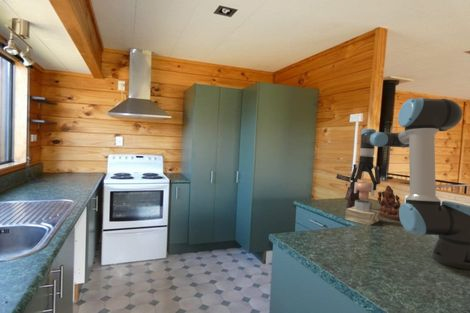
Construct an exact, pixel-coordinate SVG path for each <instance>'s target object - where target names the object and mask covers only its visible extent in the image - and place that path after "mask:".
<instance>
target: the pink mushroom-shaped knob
mask: <svg viewBox="0 0 470 313" xmlns="http://www.w3.org/2000/svg"><path fill="white" fill-rule="evenodd" d="M372 185H373V182H366V181H358V182H356V190H359V198H360V200H369V193H371V187H372Z"/></svg>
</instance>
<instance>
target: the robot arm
mask: <svg viewBox="0 0 470 313" xmlns="http://www.w3.org/2000/svg"><path fill="white" fill-rule="evenodd" d="M462 118H463V109H462V108H461V106H460V105H459V104H458V103H457V102H455V101H454V100H452V99H448V98H446V99H445V98H441V99H440V98H423V97H418V98H409V99H407V100H405V101H404V103H403V104H402V105H401V107H400V109H399V112H398V116H397V122H398V125H399V126H400V127H402V128H404V130H402V131H400V132H382V131H376V129H373V128H363V129H362V130H361V134H360V149H359V157H358V158H359V159H358V162H359V163H358V164H356V163H355V164H353V166H352V167H353V169H352V172H351V175H350V177H351V178H350V181H351V182H352V181H353V187H354V193H357V190H356V181H359V179H358V178H359V177H360V175H361V173H362V174H363V172H364V173H367V174H368V175H369V177H370V179H371V183H372V184H373V185H372V187H371V192H370V197H374V196H375V191H377V187H378V186H377V185H380V184H381V178H380V172H379V170H380V166H376V165H375V164H374V160H375V157H374V156H375V147H376V148H377V147H380V148H381V147H385V148H386V147H388V148H389V147H390V148H391V147H392V148H403V149H404V148H408V150H409V151H408V152H409V154H408V160H409V195H408V196H407V197H405V203H402V204H400V207H399V209H398V210H399V217H400V220H399V221H400V222H401V226H402V227H403V228H404V229H405V230H406V231H407V232H408V233H410V234H415V235H420V236H423V235H427V236H429V235H432V236H438V238H437V241H436V242H435V243H434V246H433V247H432V250H431V258H432V259H433V260H434V261H436V262H438V263H441V264H443V265H445V266H449V267H452V268H456V269H461V270H467V271H470V205H468V204H464V203H458V202H455V201H450V200H442V201H441V199H439V198H438V196H437V194H436V191H437V190H436V187H437V186H436V185H437V184H436V144H435V143H436V142H435V136H436V135H437V133H439V132H446V131H448V130H451V129H453V128H454V127H456V126H457V125H458V124H460V122H461V120H462ZM358 167H359V168H360V170H359V172H358V173H357V171H358ZM373 170H374V172H373ZM374 174H375V175H374Z"/></svg>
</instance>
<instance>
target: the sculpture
mask: <svg viewBox="0 0 470 313" xmlns="http://www.w3.org/2000/svg"><path fill="white" fill-rule="evenodd" d="M377 196H378V197H377V202H378V203H379V205H380V207H379V210H378V211H380V216H379V217H383V218H385V219H390V220H393V221H397V222H398V221H400V217H399V209H400V206H401V205H402V204H401V202H400V199H401V198H400V196H399V195H398V194H396V195H395V194H394V189H393V188H391V186H390V185H386V186H385V190H383V191H378V192H377Z"/></svg>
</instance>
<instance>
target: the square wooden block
mask: <svg viewBox="0 0 470 313" xmlns="http://www.w3.org/2000/svg"><path fill="white" fill-rule="evenodd" d="M354 208H355V206H354V207H351V208H346V209H345V214H344V215H345V217H344V220H346V221H350V222H356V223H358V224H359V223H360V224H362V225H363V224H364V225H367V226H371V225H373V224H376V223H378V222H379V221H380V217H381V216H380V211H379V210H378V209H373V208H372V210H371V211H370V212H362V211H357V210H355V209H354Z"/></svg>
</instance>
